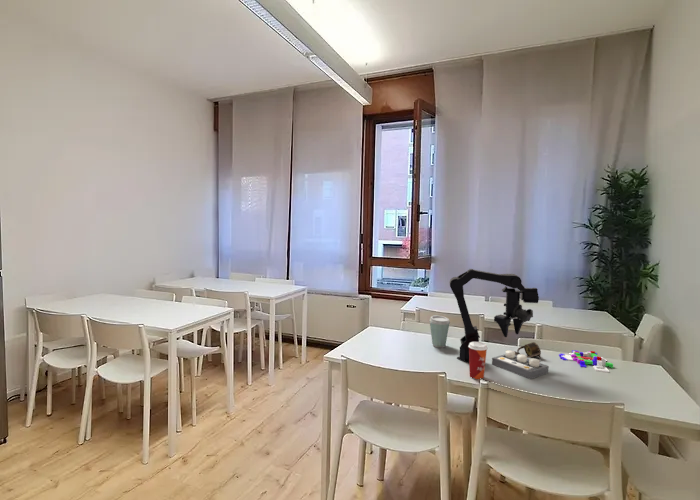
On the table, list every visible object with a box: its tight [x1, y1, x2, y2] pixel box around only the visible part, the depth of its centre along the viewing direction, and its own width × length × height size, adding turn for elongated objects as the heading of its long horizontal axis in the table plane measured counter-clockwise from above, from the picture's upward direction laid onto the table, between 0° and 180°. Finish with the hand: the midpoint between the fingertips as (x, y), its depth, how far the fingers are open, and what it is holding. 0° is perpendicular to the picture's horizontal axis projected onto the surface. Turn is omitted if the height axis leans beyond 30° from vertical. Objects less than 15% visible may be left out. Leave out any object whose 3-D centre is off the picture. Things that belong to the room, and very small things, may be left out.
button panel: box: [491, 354, 550, 380], centre depth 175 cm, size 13×19×3 cm
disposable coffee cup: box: [428, 315, 451, 348], centre depth 203 cm, size 11×11×15 cm
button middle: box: [517, 353, 528, 364], centre depth 175 cm, size 4×4×3 cm
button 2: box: [529, 357, 541, 368], centre depth 170 cm, size 4×4×3 cm
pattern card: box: [497, 357, 532, 370], centre depth 172 cm, size 4×15×1 cm, turn 32°
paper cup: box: [468, 341, 488, 380], centre depth 164 cm, size 8×8×14 cm
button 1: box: [504, 349, 515, 360], centre depth 180 cm, size 4×4×3 cm
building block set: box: [558, 349, 614, 373], centre depth 186 cm, size 25×20×4 cm
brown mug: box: [513, 342, 542, 359], centre depth 189 cm, size 7×13×10 cm
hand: (511, 335), depth 180 cm, fingers open, 8 cm apart
